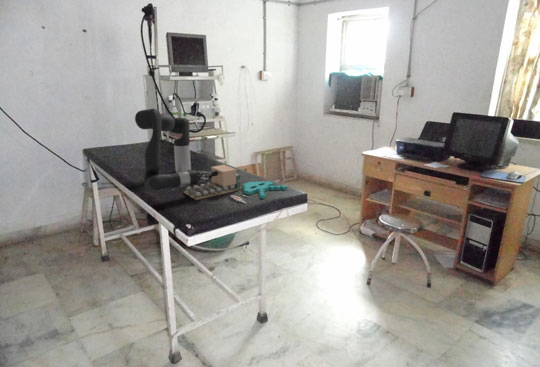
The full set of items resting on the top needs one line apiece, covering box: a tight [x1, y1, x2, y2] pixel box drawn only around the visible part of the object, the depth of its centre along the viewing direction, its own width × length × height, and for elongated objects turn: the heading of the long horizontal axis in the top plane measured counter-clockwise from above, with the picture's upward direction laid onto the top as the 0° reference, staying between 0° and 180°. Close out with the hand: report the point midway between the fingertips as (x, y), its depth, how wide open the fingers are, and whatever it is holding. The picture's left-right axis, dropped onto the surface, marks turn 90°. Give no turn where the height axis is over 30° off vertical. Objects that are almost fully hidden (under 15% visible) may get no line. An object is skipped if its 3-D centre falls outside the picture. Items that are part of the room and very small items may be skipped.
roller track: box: [183, 173, 243, 201], centre depth 193 cm, size 13×27×8 cm, turn 129°
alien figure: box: [242, 180, 288, 200], centre depth 198 cm, size 20×2×20 cm
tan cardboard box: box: [210, 164, 237, 187], centre depth 196 cm, size 12×8×8 cm, turn 39°
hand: (216, 173), depth 193 cm, fingers closed
